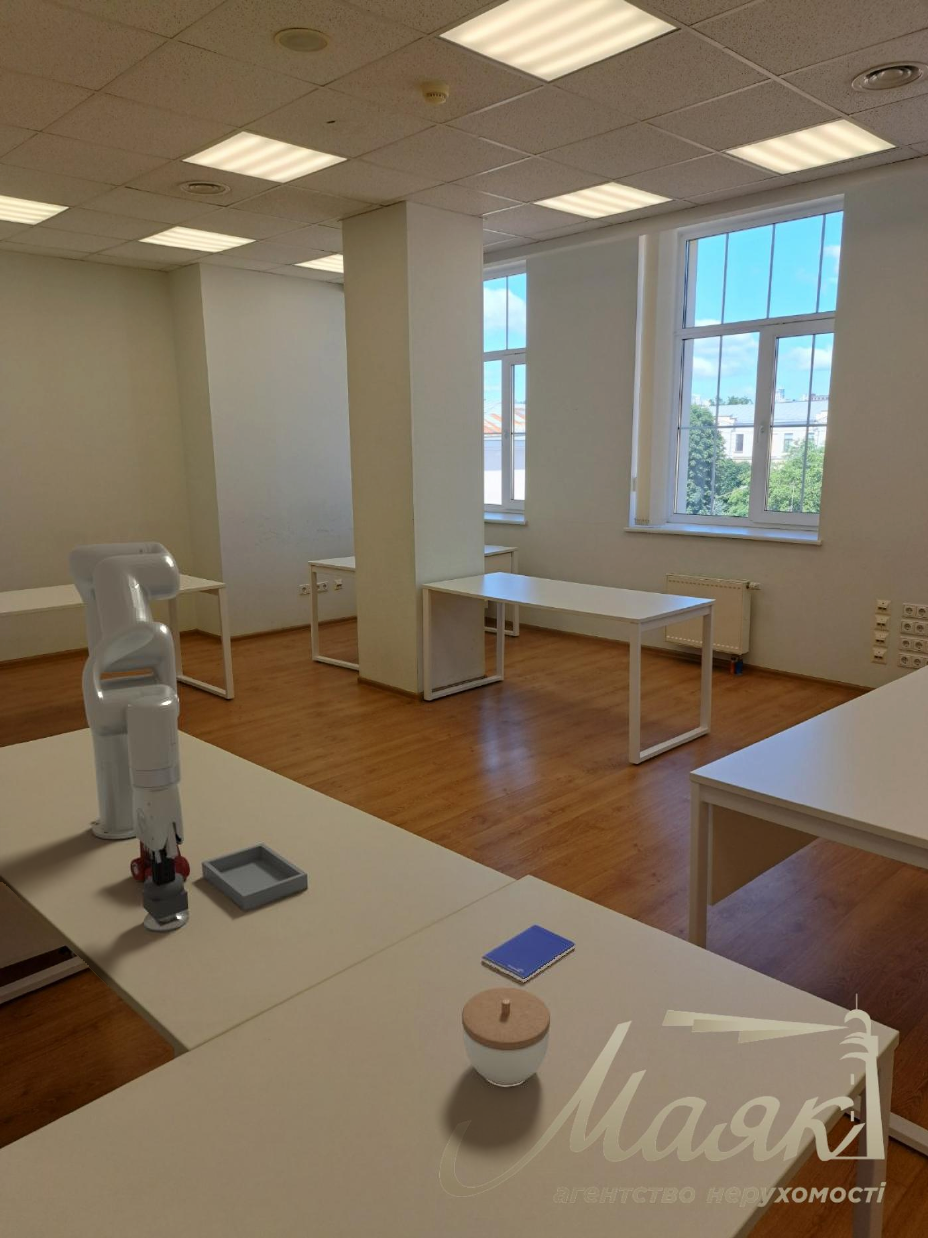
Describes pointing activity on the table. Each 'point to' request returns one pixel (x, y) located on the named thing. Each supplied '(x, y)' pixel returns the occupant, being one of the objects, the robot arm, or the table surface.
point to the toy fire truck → (143, 864)
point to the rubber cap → (165, 897)
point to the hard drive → (528, 951)
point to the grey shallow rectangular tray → (254, 876)
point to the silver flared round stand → (166, 922)
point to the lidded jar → (505, 1034)
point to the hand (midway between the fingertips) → (164, 881)
